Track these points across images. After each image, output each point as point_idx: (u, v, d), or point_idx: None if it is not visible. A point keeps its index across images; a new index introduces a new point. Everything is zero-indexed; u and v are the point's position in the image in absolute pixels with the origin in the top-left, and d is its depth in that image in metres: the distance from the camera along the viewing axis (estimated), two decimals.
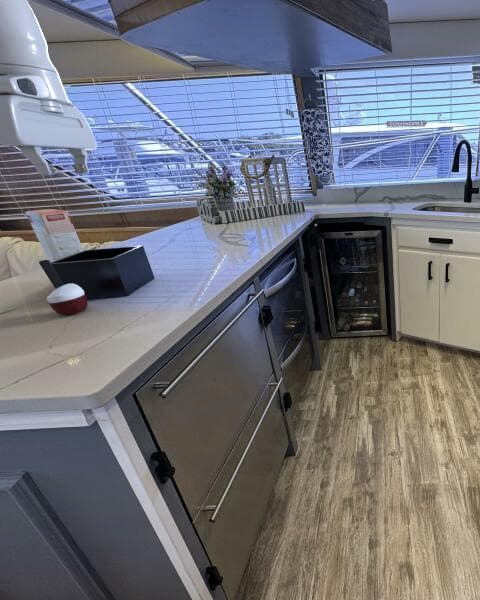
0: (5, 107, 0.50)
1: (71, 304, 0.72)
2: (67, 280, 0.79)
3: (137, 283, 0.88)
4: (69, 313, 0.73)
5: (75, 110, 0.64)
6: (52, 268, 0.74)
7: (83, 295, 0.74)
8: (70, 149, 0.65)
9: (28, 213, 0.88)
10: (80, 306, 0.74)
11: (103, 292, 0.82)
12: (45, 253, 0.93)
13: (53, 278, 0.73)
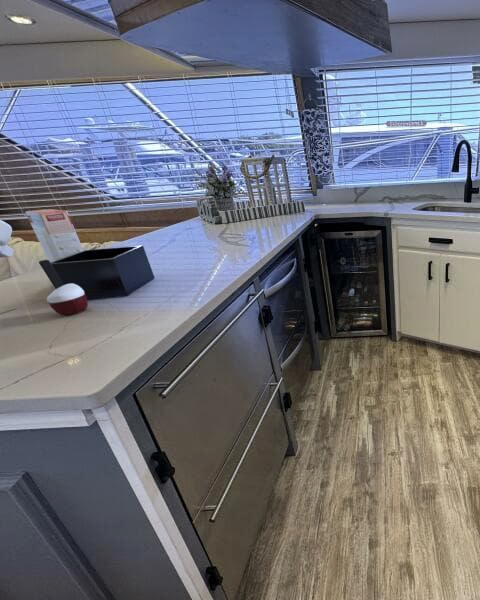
0: None
1: (71, 304, 0.72)
2: (67, 280, 0.79)
3: (137, 283, 0.88)
4: (69, 313, 0.73)
5: None
6: (52, 268, 0.74)
7: (83, 295, 0.74)
8: None
9: (28, 213, 0.88)
10: (80, 306, 0.74)
11: (103, 292, 0.82)
12: (45, 253, 0.93)
13: (53, 278, 0.73)
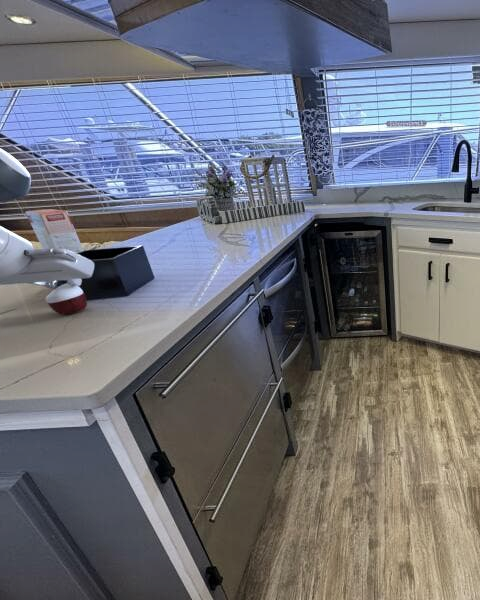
0: None
1: (70, 303, 0.72)
2: (67, 280, 0.79)
3: (137, 283, 0.88)
4: (68, 312, 0.73)
5: (47, 263, 0.62)
6: None
7: (82, 294, 0.74)
8: None
9: (28, 213, 0.88)
10: (79, 305, 0.73)
11: (103, 292, 0.82)
12: None
13: None
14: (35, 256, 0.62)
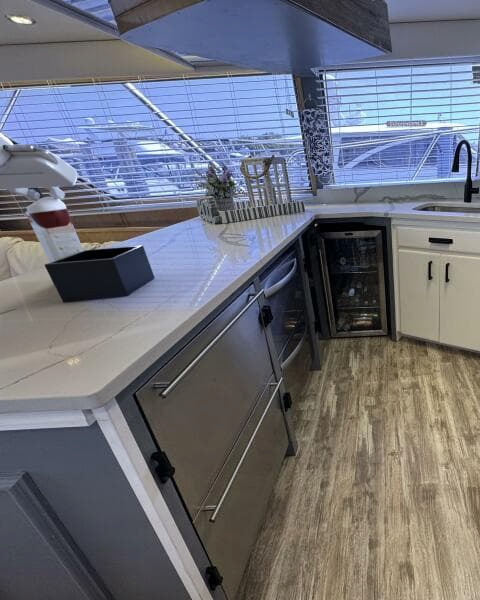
0: None
1: (52, 215, 0.71)
2: (67, 280, 0.79)
3: (137, 283, 0.88)
4: (50, 226, 0.71)
5: (27, 161, 0.61)
6: None
7: (65, 209, 0.73)
8: None
9: (28, 213, 0.88)
10: (62, 219, 0.72)
11: (103, 292, 0.82)
12: (45, 253, 0.93)
13: None
14: (15, 153, 0.61)
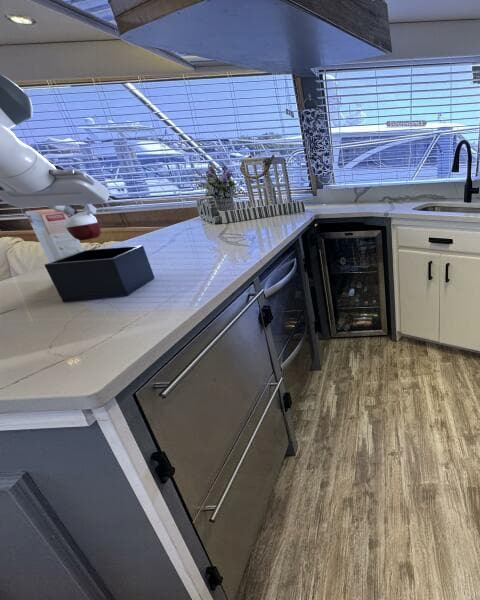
0: None
1: (86, 229, 0.80)
2: (67, 280, 0.79)
3: (137, 283, 0.88)
4: (84, 238, 0.81)
5: (68, 183, 0.70)
6: None
7: (96, 223, 0.82)
8: None
9: (28, 213, 0.88)
10: (94, 232, 0.81)
11: (103, 292, 0.82)
12: (45, 253, 0.93)
13: None
14: (59, 176, 0.70)
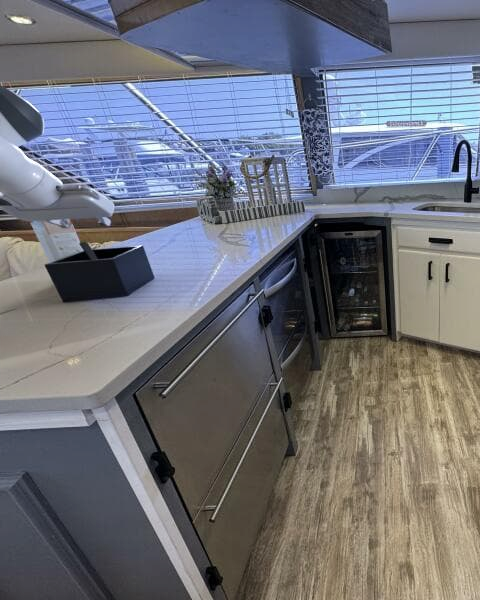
0: None
1: None
2: (67, 280, 0.79)
3: (137, 283, 0.88)
4: None
5: (75, 199, 0.72)
6: (90, 248, 0.86)
7: None
8: None
9: None
10: None
11: (103, 292, 0.82)
12: (45, 253, 0.93)
13: (92, 257, 0.86)
14: (65, 192, 0.71)
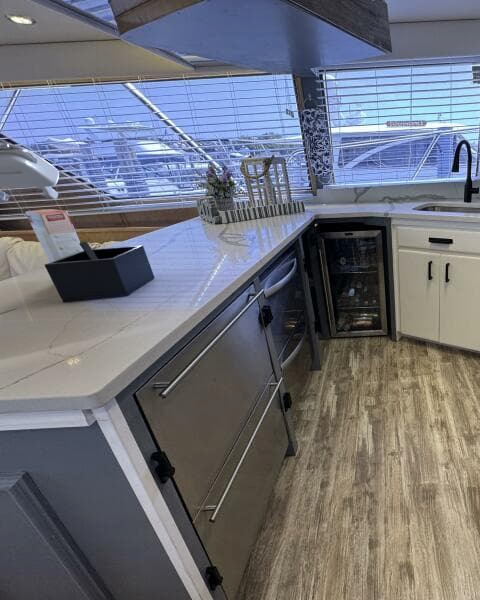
0: None
1: None
2: (67, 280, 0.79)
3: (137, 283, 0.88)
4: None
5: (3, 160, 0.58)
6: (90, 248, 0.86)
7: None
8: None
9: (28, 213, 0.88)
10: None
11: (103, 292, 0.82)
12: (45, 253, 0.93)
13: (92, 257, 0.86)
14: None
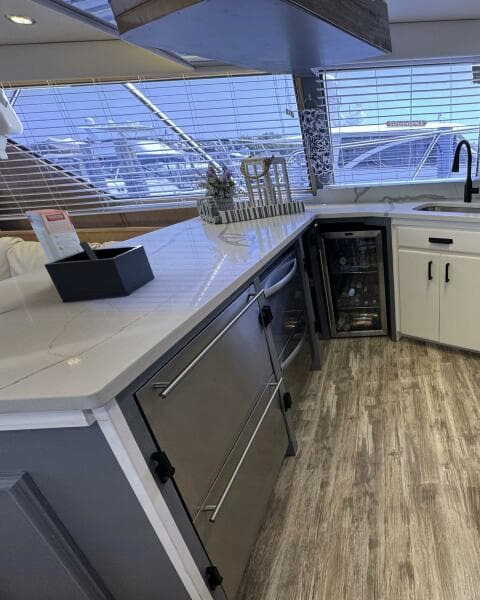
0: None
1: None
2: (67, 280, 0.79)
3: (137, 283, 0.88)
4: None
5: None
6: (90, 248, 0.86)
7: None
8: None
9: (28, 213, 0.88)
10: None
11: (103, 292, 0.82)
12: (45, 253, 0.93)
13: (92, 257, 0.86)
14: None
